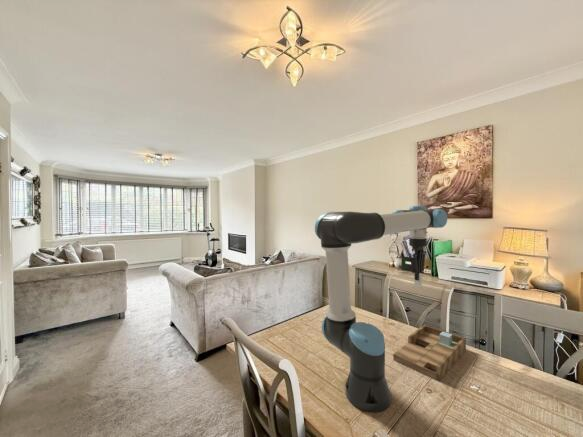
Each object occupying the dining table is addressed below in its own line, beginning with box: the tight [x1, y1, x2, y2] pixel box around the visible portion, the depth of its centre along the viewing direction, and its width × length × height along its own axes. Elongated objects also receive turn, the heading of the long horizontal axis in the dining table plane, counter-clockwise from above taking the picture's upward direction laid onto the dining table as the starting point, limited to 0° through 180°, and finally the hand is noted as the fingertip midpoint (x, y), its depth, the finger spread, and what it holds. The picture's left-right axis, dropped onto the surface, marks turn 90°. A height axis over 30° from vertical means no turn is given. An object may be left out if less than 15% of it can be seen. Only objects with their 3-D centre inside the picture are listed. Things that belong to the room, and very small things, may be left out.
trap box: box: [392, 324, 467, 382], centre depth 109 cm, size 32×18×6 cm, turn 130°
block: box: [439, 331, 453, 346], centre depth 114 cm, size 4×4×4 cm
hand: (418, 286), depth 118 cm, fingers closed
